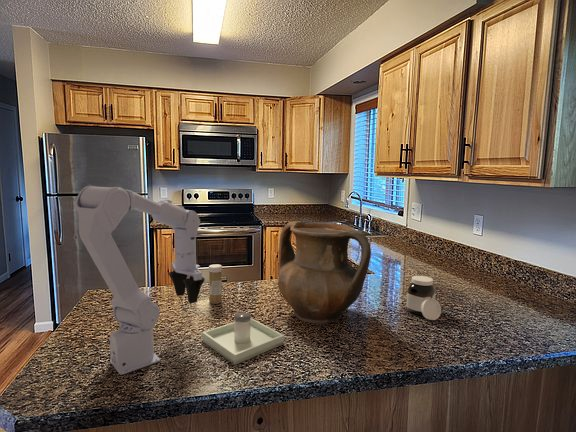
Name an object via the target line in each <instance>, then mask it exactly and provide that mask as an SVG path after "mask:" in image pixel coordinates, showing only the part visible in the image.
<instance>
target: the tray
mask: <svg viewBox="0 0 576 432" xmlns="http://www.w3.org/2000/svg"><path fill="white" fill-rule="evenodd" d="M201 334H202V335H201V337H202V339H201V340H202V342H203V343H204V344H206V345H207V346H208V347H210V348H212V350H214V351H216V352H217V353H218V354H220V355H221V356H222V357H224V358H225V359H226V360H228V361H229V362H231V363H232V364H233V365H238V364H240V363H242V362H245V361H247V360H249V359H252V358H254V357H257V356H259V355H261V354H264V353H266V352H268V351H271V350H273V349H276V348H277V347H280V346H282V345H283V346H284V344H285V335H284V334H282V333H281V332H278V331H277V330H274V329H273V328H271V327H269V326H267V325H265V324H263V323H261V322H259V321H257V320H256V319H255V318H252V317H251V331H250V341H249V342H248V343H245V344H239V343H236V342H235V341H234V321H233V322H230V323H227V324H225V325H224V324H223V325H221V326H218V327H214V328H211V329H209V330H205V331H203V332H201Z"/></svg>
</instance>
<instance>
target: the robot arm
mask: <svg viewBox="0 0 576 432" xmlns="http://www.w3.org/2000/svg"><path fill="white" fill-rule="evenodd" d="M77 194H78V195H77V197H76V199H75V201H74V203H73V207H74V208H75V209H76V211H77V214H78V215H77V217H78V233H79V238H80V240H81V242H82V244H83V245H84V247H85V248H86V251H87V252H88V254H89V255H90V257H91V259H92V261H93V263H94V265H95V266H96V268H97V269H98V271H99V273H100V275H101V277H102V278H103V280H104V282H105V284H106V285H107V287H108V289H109V290H110V293H111V295H112V296H113V298H112V299H111V300H110V305H111V307H112V313H113V314H112V315H113V318H114V320H115V321H117V322H118V325H119V329H117V330H116V331H112V333H110V335H109V350H110V360H109V361H110V363H111V365H112V367H114V370H116V371H117V373H118V375H121V376H122V375H125V374H128V373H130V372H133V371H137V370H139V369H142V368H145V367H148V366H150V365H154V364H156V363H159V362H160V361H161V358H160V357H159V356H158V355H157V354H156V353H155V347H154V327H155V326H156V324H157V322H158V320H159V318H160V313H161V312H160V307H159V305H158V304H157V303H156V302H153V301H152V299H151V297H150V296H149V295H148V294H146V293H145V292H144V291H142V290H141V289H140V288H139V286H138V285H137V282H136V280H135V279H134V276H133V273H132V272H131V271H130V269H129V267H128V265H127V263H126V261H125V259H124V257H123V255H122V253H121V251H120V249H119V247H118V246H117V243H116V241H115V239H114V237H113V236H112V234H113V231H115V229H116V228H117V227H118V225H119V224H120V223H121V221H122V220H123V219H124V217H125V215H127V213H128V212H129V211H134V210H135V211H137V212H141V213H144V214H147V215H151V218H152V219H153V221H154V222H157V223H158V224H162V225H165V226H169V227H170V228H171V229H172V230H174V262H171V270H172V271H169V272H167V273H168V275H169V277H170V279H171V281H172V284H173V286H174V290H175V291H174V292H175V294H176V296H177V297H180V296H185V292H186V294H187V300H188V301H187V302H188V303H189V305H191V304H195V303H197V302H198V299H199V294H200V291H201V289H202V288H201V287H202V286H203V284H204V282H205V278H204V276H203V273H202V272H201V271H200V270H199V269H200V268H201V265H199V264H197V236H198V233H199V231H198V230H199V227H200V225H201V219H200V217H199V214H198V213H197V212H196V211H195V210H193V209H192V210H190V209H185V207H184V206H183V205H176V204H173V201H172V200H170V199H164V200H159V201H154V200H152V199H150V198H147V197H146V196H143V195H141V194H138V193H136V192H134V191H133V190H132V189H131V190H130V189H126V188H125V189H124V188H123V187H120V186H113V187H107V186H95V185H87V186H85V187H83V188H82V189H81V190H80V191H79V193H77ZM188 277H189V278H188Z"/></svg>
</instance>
